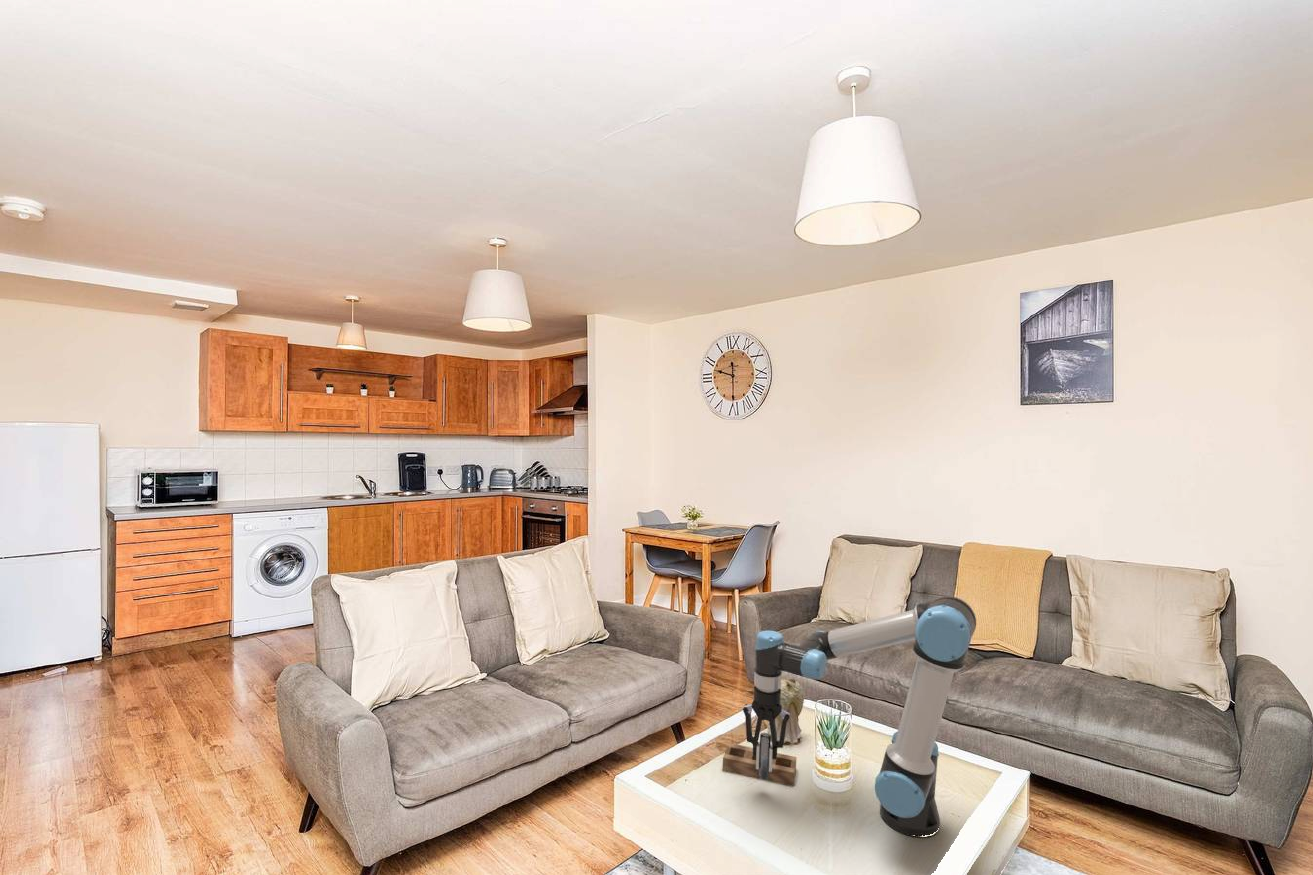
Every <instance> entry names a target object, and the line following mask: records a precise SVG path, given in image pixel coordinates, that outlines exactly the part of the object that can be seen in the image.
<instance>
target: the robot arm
mask: <svg viewBox="0 0 1313 875" xmlns="http://www.w3.org/2000/svg"><path fill="white" fill-rule="evenodd" d="M976 628H977V617H976V614H975V612H974V610H973V609H972V607H971V606H970V605H969V604H968V603H967V602H966V601H964V600H963V599H961V598H959V597H955V596H951V595H950V596H949V595H948V596H947V595H945V596H940V597H937V598H934V599H931V600H928V601H925V602H922V603H918V604H915V607H914V608H913V609H911V610H907V611H904V612H899V613H894V614H891V615H887V616H882V617H879V618H874V619H872V620H867V621H863V622H859V623H856V624H852V625H848V626H843V627H839V628H835V629H832V630H828V631H823V630H818V631H816V632H813V633H812V634H810V635H809V636H808V638H806V639H805V640H803V642H802V643H801V644H800V645H795V644H790V643H787V642H784V637H783V635H782V633H780V632H778V631H775V630H762V631H760V632H758V634H756V639H755V640H756V641H755V647H754V650H755V656H754V677H753V680H754V681H753V682H754V683H753V685H754V688H753V700H752V702H751V704H747V703H746V704H744V706H743V708H742V710H743V711H742V712H743V714H744V715H745V716H744V718H745V733H746V734H745V735H746V742H747V743H751V744H752V748H753V756H756V769H759V755H760V734H761V727H762V724H763V721H766V722H769V726H770V730H771V739H772V741H771V746H770V753H769V772H772V768H773V759H775V760H776V758H777V753H778V749H783V748H784V740H785V732H786V725H787V721H788V719H789V717H790V712H789V711H787V712H786V711H784V710H783V709H782V706H781V704H780V699H781V689H780V688H781V680H782V674H783V673H782V672H787V673H790V674H793V675H796V676H801V677H805V678H806V679H814V680H821V679H822V678H823V677H824V675H825V672H826V669H827V662H828V661H829V660H833V659H837V658H841V657H845V656H850V655H854V654H859V653H863V652H869V651H872V650H876V649H882V648H885V647H889V646H890V647H891V646H895V645H899V644H902V643H908V642H911V641H914V644H913V646H912V647H913V648H912V652H913V654H914V655H915V657H916V663H915V667H914V671H913V674H912V678H911V681H910V684H909V689H908V692H907V695H906V700H905V704H904V707H903V710H902V715H901V719H900V723H899V726H898V730H897V731H895V732H894V733H893V735H892V738H891V741H890V742H891V743H889V744H888V745H887V746H886V748H885V753H884V757H883V760H882V764H881V768H880V771H879V773H878V774H877V776H876V777H875V782H874V794H875V796H876V798H877V799H878V801H879V802H880V806H879V807H880V808H879V815H880V818H881V819H882V820H883V821H884V823H885V824H886V825H888V826H889V827H890V828H891V829H893V830H894V831H897V832H899V833H901V834H904V835H906V834H908V835H907V836H909V835H915V836H922V835H923V836H925V835H930V834H933V833H934V832H936V831H937V830H938V828H939V829H940V827H939V826H940V825H941V819H940V814H939V810H938V806H937V803H936V802H937V801H936V798H935V797H936V784H937V783H936V782H937V772H938V761H939V760H938V758H939V756H940V754H939V746H938V744H937V742H936V739H937V735H938V732H939V729H940V724H941V720H942V718H943V714H944V710H945V707H946V703H947V699H948V695H949V692H950V689H951V686H952V685H951V684H952V683H953V679H954V678H953V677H954V673H956V672H958V671H961V670H962V669H963V667H964V665H965V661H966V658H967V656H968V655H967V654H968V651H969V647H970V644H971V641H972V640H971V639H972V637H973V635H974V633H975V631H976ZM752 712H754V713H755V715H756V716H757V720H756V726H755V730H754V735H753V727H752V724H753V723H752ZM780 713H781V718H782V719H783V721H782V726H781V734H780V741H779V740H778V741H777V733H776V724H775V718H776V717H777V716H778V715H779V714H780Z"/></svg>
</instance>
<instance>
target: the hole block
mask: <svg viewBox="0 0 1313 875" xmlns="http://www.w3.org/2000/svg"><path fill="white" fill-rule="evenodd" d="M721 770H722V771H724V772H728V773H733V774H737V775H743V776H746V777H751V778H756V779H760V778H759V769H756V756H753V747H750V746H746V745H741V744H738V743H737V744H735V743H730V742H728V744H727V747H726V749H725V752H724V754H723V757H722V768H721ZM796 771H797V756H795V755H794V756H793V755H788V754H784V753H778V752H777V758H776V760H775V759H773V768H772V772H769V779H767V780H766V781H769V782H773V783H778V784H782V785H786V786H791V787H793V786H794V782H795V777H796ZM760 780H761V779H760Z"/></svg>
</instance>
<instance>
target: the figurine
mask: <svg viewBox="0 0 1313 875" xmlns="http://www.w3.org/2000/svg"><path fill="white" fill-rule="evenodd" d="M780 689H781V699H780V704H781V706H782V709H783V710H784V711H786V712H787V711H789V712H790V717H789V719H788V721H787V725H786V732H785V740H784V745H783V747H784V746H785V747H794V746H798V745H801V744H802V742H801V739H802V738H803V737H802V735H801V732H802V729H801V727H800V725H799V719H800V718H799V717H800V715H801V713H802V711H803V708H804V703H805V702H804V701H805V698H804V689H803V687H802V686H801V684H800V683H799V682H798V680H796V679H795V678H791V679H788V680H787V679H784V678H781V688H780ZM782 721H783V719H782V718H781V713H780V714H779V715H778V716H777V717H776V718H775V724H776V733H777V741H780V734H781V726H782ZM767 733H768V734H770V735H771V730H770V725H768V726H767ZM771 742H772V739H771ZM787 742H788V743H787Z"/></svg>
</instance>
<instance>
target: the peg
mask: <svg viewBox="0 0 1313 875" xmlns="http://www.w3.org/2000/svg"><path fill="white" fill-rule="evenodd" d="M759 742H760V755H759V778H760V780H763V781H768V780H767V779H769V753H770V746H771V744H772V741H771V735H770V734H768V732H762V733H761V732H760V734H759ZM759 778H758V779H759Z"/></svg>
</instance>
